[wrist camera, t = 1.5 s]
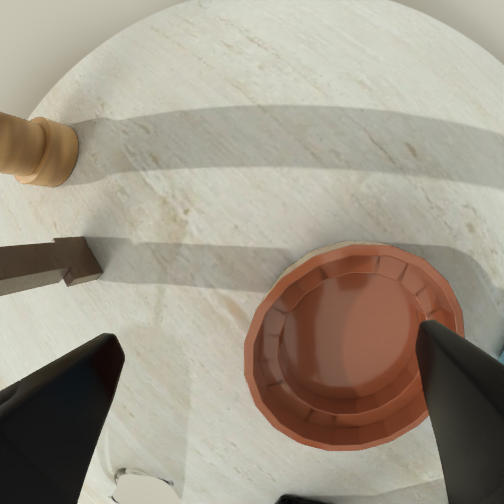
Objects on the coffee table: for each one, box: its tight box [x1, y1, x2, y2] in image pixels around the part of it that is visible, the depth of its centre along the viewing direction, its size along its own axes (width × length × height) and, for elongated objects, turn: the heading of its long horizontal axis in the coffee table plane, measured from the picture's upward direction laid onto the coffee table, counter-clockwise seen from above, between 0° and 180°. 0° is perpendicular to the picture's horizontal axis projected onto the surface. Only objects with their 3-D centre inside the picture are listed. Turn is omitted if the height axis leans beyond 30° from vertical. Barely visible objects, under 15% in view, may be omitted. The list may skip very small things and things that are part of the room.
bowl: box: [244, 241, 465, 451], centre depth 19 cm, size 14×14×5 cm
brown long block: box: [0, 237, 103, 296], centre depth 19 cm, size 4×2×13 cm, turn 36°
